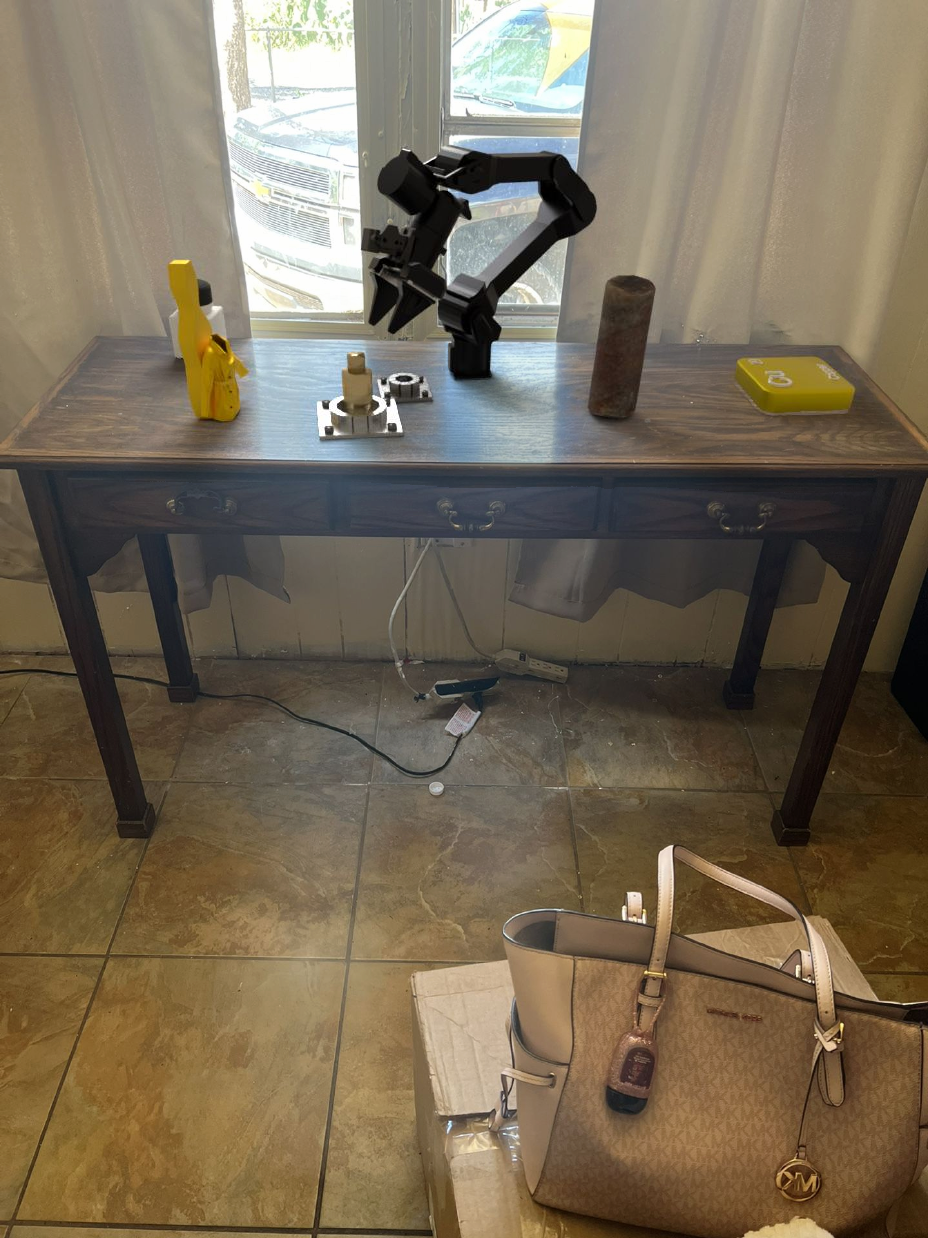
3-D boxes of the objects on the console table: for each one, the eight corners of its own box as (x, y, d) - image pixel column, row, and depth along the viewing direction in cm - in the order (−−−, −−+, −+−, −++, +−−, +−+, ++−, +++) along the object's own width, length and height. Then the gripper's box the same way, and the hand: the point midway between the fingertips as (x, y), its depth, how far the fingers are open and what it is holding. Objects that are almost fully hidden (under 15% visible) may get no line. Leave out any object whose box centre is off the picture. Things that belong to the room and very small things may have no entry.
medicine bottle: (228, 346, 157) (219, 276, 150) (215, 361, 151) (204, 289, 144) (189, 344, 157) (177, 274, 150) (174, 358, 152) (162, 286, 144)
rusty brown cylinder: (640, 408, 139) (660, 277, 127) (631, 427, 134) (651, 292, 122) (592, 401, 141) (607, 271, 129) (582, 419, 136) (597, 285, 124)
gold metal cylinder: (362, 407, 136) (359, 346, 130) (379, 417, 133) (377, 355, 127) (338, 415, 133) (334, 353, 128) (355, 425, 131) (352, 362, 125)
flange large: (394, 402, 139) (394, 387, 138) (402, 435, 130) (402, 420, 128) (317, 405, 137) (316, 391, 136) (320, 439, 128) (318, 424, 126)
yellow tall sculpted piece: (221, 440, 127) (197, 283, 114) (168, 436, 128) (138, 278, 114) (261, 392, 141) (244, 247, 128) (214, 388, 142) (192, 243, 129)
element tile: (852, 416, 140) (861, 387, 137) (761, 419, 138) (768, 389, 135) (812, 380, 152) (820, 352, 149) (728, 382, 150) (734, 354, 147)
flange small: (425, 381, 146) (425, 368, 145) (432, 400, 140) (432, 387, 139) (377, 383, 145) (376, 370, 144) (381, 402, 139) (381, 389, 137)
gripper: (364, 199, 134) (317, 294, 137) (406, 201, 119) (352, 308, 122) (423, 239, 140) (377, 330, 143) (470, 246, 125) (418, 347, 128)
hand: (380, 328), depth 134 cm, fingers open, 9 cm apart
